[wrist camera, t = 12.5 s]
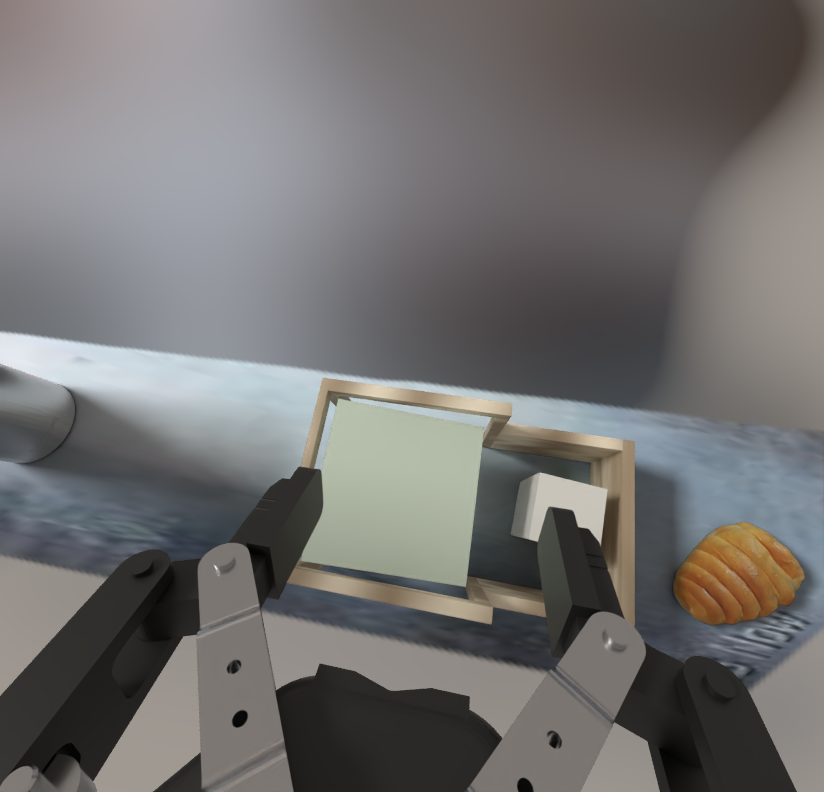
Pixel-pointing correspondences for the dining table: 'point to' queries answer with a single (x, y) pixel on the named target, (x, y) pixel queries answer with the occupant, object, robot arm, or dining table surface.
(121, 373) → the dining table surface
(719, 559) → the pastry
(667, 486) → the dining table surface
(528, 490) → the white rectangular block
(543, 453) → the trapdoor frame
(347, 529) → the trapdoor
